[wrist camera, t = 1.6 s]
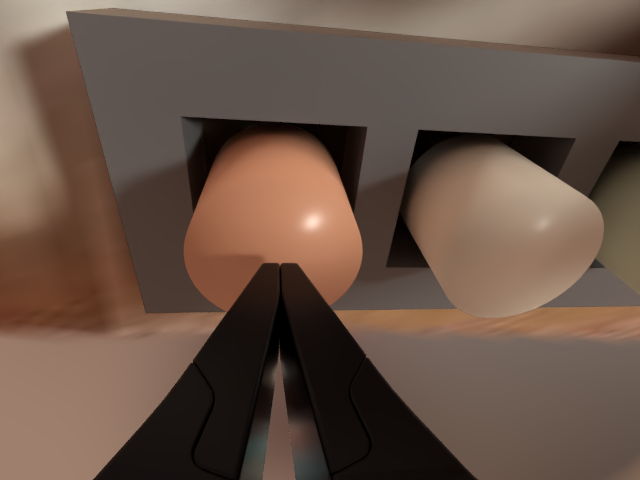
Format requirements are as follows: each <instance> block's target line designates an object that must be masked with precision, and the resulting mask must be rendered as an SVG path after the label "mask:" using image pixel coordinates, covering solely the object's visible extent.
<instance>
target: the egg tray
mask: <svg viewBox="0 0 640 480" xmlns="http://www.w3.org/2000/svg"><path fill="white" fill-rule="evenodd" d="M66 14H67V18H68V21H69V25H70V29H71V33H72V37H73V40H74V44H75V48H76V52H77V55H78V59H79V63H80V67H81V70H82V74H83V78H84V82H85V85H86V89H87V93H88V97H89V101H90V104H91V108H92V112H93V116H94V119H95V123H96V127H97V131H98V134H99V138H100V142H101V146H102V149H103V153H104V157H105V161H106V165H107V168H108V172H109V176H110V180H111V183H112V187H113V191H114V195H115V198H116V202H117V206H118V210H119V213H120V217H121V221H122V225H123V229H124V232H125V236H126V240H127V244H128V247H129V251H130V255H131V259H132V262H133V266H134V270H135V274H136V277H137V281H138V285H139V289H140V293H141V296H142V300H143V304H144V308H145V311H146V313H179V312H226V311H224V310H222V309H221V308H219V307H217V306H216V305H214V304H213V303H212V302H210V301H209V300H208V299H207V298H206V297H204V296H203V295H202V294H201V293H200V291H199V290H198V289H197V288H196V287H195V285H194V283H193V282H192V280H191V279H190V276H189V274H188V272H187V269H186V265H185V261H184V241H185V237H186V233H187V230H188V227H189V225H190V222H191V219H192V217H193V214H194V212H195V209H196V206H197V204H198V201H199V198H200V196H201V193H202V191H203V188H204V185H205V183H206V180H207V177H208V174H207V164H206V154H205V144H204V134H203V124H202V118H218V119H236V120H254V121H272V122H290V123H309V124H327V125H345V126H347V134H346V142H345V150H344V158H343V166H342V174H341V181H342V184H343V187H344V189H345V192H346V195H347V198H348V201H349V204H350V206H351V209H352V212H353V215H354V218H355V220H356V223H357V226H358V229H359V232H360V235H361V240H362V249H363V254H362V262H361V265H360V269H359V272H358V274H357V276H356V278H355V280H354V282H353V283H352V285H351V286H350V288H349V289H348V290H347V291H346V292H345V293H344V294H343V295H342V296H341V297H340V298H339V299H338V300H337V301H335V302H334V303H333V304H332V305H330V307H331V309H332V310H394V309H457V308H456V307H455V306H454V305H453V304H452V303H451V302H450V301H449V299H448V298H447V296H446V294H445V293H444V291H443V289H442V287H441V286H440V284H439V282H438V280H437V279H436V277H435V275H434V273H433V272H432V270H431V268H430V266H429V265H428V263H427V261H426V259H425V258H424V256H423V254H422V252H421V250H420V249H419V247H418V245H417V243H416V242H415V240H414V238H413V236H412V235H411V233H410V231H409V229H408V228H407V227H395V226H396V222H397V218H398V214H399V209H400V205H401V201H402V197H403V193H404V188H405V184H406V180H407V176H408V172H409V167H410V163H411V159H412V155H413V151H414V146H415V142H416V138H417V134H418V130H435V131H453V132H471V133H489V134H507V135H515V137H514V140H513V142H512V145H511V147H510V148H512V149H513V150H515V151H516V152H518V153H519V154H521V155H522V156H524V157H526V158H527V159H529V160H530V161H532V162H533V163H535V164H536V165H538V166H540V167H541V168H543V169H544V170H546V171H547V172H549V173H550V174H552V175H554V176H555V177H557V178H558V179H560V180H561V181H563V182H564V183H566V184H567V185H569V186H571V187H572V188H574V189H575V190H577V191H578V192H580V193H581V194H583V195H585V196H586V197H587V198H588V196H589V194H590V192H591V191H592V189H593V187H594V185H595V183H596V182H597V180H598V178H599V176H600V175H601V173H602V171H603V169H604V167H605V166H606V164H607V162H608V160H609V159H610V157H611V155H612V153H613V151H614V150H615V148H616V146H617V144H618V143H619V141H634V142H640V56H631V55H620V54H609V53H599V52H588V51H577V50H566V49H555V48H544V47H533V46H522V45H511V44H500V43H489V42H478V41H467V40H456V39H445V38H434V37H423V36H412V35H401V34H391V33H380V32H369V31H358V30H347V29H336V28H325V27H314V26H303V25H292V24H281V23H270V22H259V21H248V20H237V19H226V18H215V17H204V16H194V15H183V14H172V13H161V12H150V11H139V10H128V9H117V8H109V9H95V10H80V11H66ZM609 306H640V295H638V294H637V293H636V292H635V291H634V290H632V289H631V288H630V287H629V286H627V285H626V284H625V283H624V282H623V281H621V280H620V279H619V278H618V277H617V276H615V275H614V274H613V273H612V272H610V271H609V270H608V269H607V268H606V267H604V266H603V265H602V264H601V263H599V262H598V261H597V260H596V259H594V261H593V262H592V264H591V265H590V267H589V268H588V269H587V271H586V272H585V273H584V274H583V275H582V276H581V277H580V278H579V279H578V280H577V281H576V282H575V283H574V284H573V285H572V286H571V287H570V288H568V289H567V290H566V291H565V292H563V293H562V294H560V295H559V296H557V297H556V298H554V299H553V300H551V301H549V302H548V303H546V304H544V305H542V306H540V307H609ZM537 308H538V307H537Z"/></svg>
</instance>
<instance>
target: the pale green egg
mask: <svg viewBox="0 0 640 480" xmlns="http://www.w3.org/2000/svg"><path fill="white" fill-rule="evenodd" d="M588 198H589V199H590V200H592V201H593V202H594V203H595V205H596V206H597V207H598V208H599V210H600V212H601V214H602V218H603V221H604V234H603V240H602V243H601V247H600V249H599V251H598V254H597V255H596V257H595V259H596V260H597V261H598V262H599V263H601V264H602V265H603V266H604V267H606V268H607V269H608V270H609V271H610V272H612V273H613V274H614V275H615V276H617V277H618V278H619V279H620V280H621V281H623V282H624V283H625V284H626V285H627V286H629V287H630V288H631V289H632V290H634V291H635V292H636V293H637V294H638V295H640V144H634V145H630V146H626V147H624V148H621V149H618V150H616V151H614V152H613V153H612V155H611V157H610V159H609V160H608V162H607V164H606V166H605V167H604V169H603V171H602V173H601V175H600V176H599V178H598V180H597V182H596V183H595V185H594V187H593V189H592V191H591V192H590V194H589V196H588Z"/></svg>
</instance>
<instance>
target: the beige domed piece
mask: <svg viewBox="0 0 640 480" xmlns="http://www.w3.org/2000/svg"><path fill="white" fill-rule="evenodd" d="M400 213H401V216H402V218H403V220H404V222H405V224H406V226H407V228H408V229H409V231H410V233H411V235H412V236H413V238H414V240H415V242H416V243H417V245H418V247H419V249H420V250H421V252H422V254H423V256H424V258H425V259H426V261H427V263H428V265H429V266H430V268H431V270H432V272H433V273H434V275H435V277H436V279H437V280H438V282H439V284H440V286H441V287H442V289H443V291H444V293H445V294H446V296H447V298H448V299H449V301H450V302H451V303H452V304H453V305H454V306H455V307H456V308H457V309H459V310H461V311H462V312H464V313H467V314H469V315H472V316H476V317H483V318H502V317H508V316H513V315H517V314H521V313H524V312H527V311H530V310H533V309H535V308H537V307H540V306H542V305H544V304H546V303H548V302H549V301H551V300H553V299H554V298H556V297H557V296H559V295H560V294H562V293H563V292H565V291H566V290H567V289H568V288H570V287H571V286H572V285H573V284H574V283H575V282H576V281H577V280H578V279H579V278H580V277H581V276H582V275H583V274H584V273H585V272H586V271H587V269H588V268H589V267H590V265H591V264H592V262H593V261H594V259H595V257H596V255H597V254H598V251H599V249H600V247H601V243H602V240H603V234H604V221H603V218H602V214H601V212H600V210H599V208H598V207H597V206H596V205H595V203H594V202H593V201H592V200H590V199H589V198H587V197H586V196H585V195H583V194H581V193H580V192H578V191H577V190H575V189H574V188H572V187H571V186H569V185H567V184H566V183H564V182H563V181H561V180H560V179H558V178H557V177H555V176H554V175H552V174H550V173H549V172H547V171H546V170H544V169H543V168H541V167H540V166H538V165H536V164H535V163H533V162H532V161H530V160H529V159H527V158H526V157H524V156H522V155H521V154H519V153H518V152H516V151H515V150H513V149H512V148H510V147H508V146H507V145H505V144H504V143H502V142H501V141H499V140H497V139H495V138H493V137H491V136H487V135H483V134H464V135H458V136H455V137H451V138H449V139H446V140H444V141H442V142H440V143H438V144H436V145H435V146H433V147H432V148H430V149H429V150H428V151H426V152H425V153H424V154H423V155H422V156H421V157H420V158H419V159H418V160H417V161H416V162H415V163H414V164H413V166H412V167H411V168H410V170H409V172H408V176H407V180H406V184H405V188H404V193H403V197H402V201H401V205H400Z"/></svg>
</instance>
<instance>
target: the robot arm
mask: <svg viewBox="0 0 640 480" xmlns="http://www.w3.org/2000/svg"><path fill="white" fill-rule="evenodd" d="M279 348H280V361H281V369H282V377H283V385H284V392H285V401H286V408H287V416H288V424H289V432H290V439H291V447H292V455H293V463H294V470H295V478H296V480H478V479H477V478H476V477H474V476H473V475H472V474H471V473H470V472H469V471H468V470H467V469H466V468H465V467H464V466H463V465H462V464H461V463H460V461H458V459H457V458H456V457H455V456H454V455H453V454H452V453H451V452H450V451H449V450H448V449H447V448H446V447H445V445H444V444H443V443H442V442H441V441H440V440H439V439H438V438H437V437H436V436H435V435H434V434H433V433H432V432H431V431H430V429H429V428H428V427H427V426H426V425H425V424H424V423H423V422H422V421H421V420H420V419H419V418H418V417H417V416H416V415H415V413H414V412H413V411H412V410H411V409H410V408H409V407H408V406H407V405H406V404H405V402H404V401H403V400H402V399H401V398H400V397H399V396H398V395H397V394H396V392H395V391H394V390H393V389H392V388H391V386H390V385H389V384H388V383H387V381H386V380H385V379H384V378H383V377H382V375H381V374H380V373H379V371H378V370H377V369H376V367H375V366H374V365H373V363H372V362H371V361H370V359H369V358H366V354H365V353H364V351H363V350H362V349H361V347H360V346H359V345H358V343H357V342H356V341H355V339H354V338H353V337H352V335H351V334H350V333H349V331H348V330H347V329H346V327H345V326H344V325H343V323H342V322H341V321H340V319H339V318H338V317H337V315H336V314H335V313H334V311H333V310H332V309H331V307H330V306H329V305H328V303H327V302H326V301H325V299H324V298H323V297H322V295H321V294H320V293H319V291H318V290H317V289H316V287H315V286H314V285H313V283H312V282H311V281H310V279H309V278H308V277H307V275H306V274H305V273H304V271H303V270H302V269H301V267H300V266H299V265H298V264H297V263H281V265H280V264H279V263H263V264H262V265H261V266H260V267H259V269H258V270H257V271H256V273H255V274H254V276H253V277H252V278H251V280H250V281H249V283H248V284H247V285H246V287H245V288H244V290H243V291H242V292H241V294H240V295H239V297H238V298H237V299H236V301H235V302H234V304H233V305H232V306H231V308H230V309H229V311H228V312H227V313H226V315H225V316H224V318H223V319H222V320H221V322H220V323H219V325H218V326H217V327H216V329H215V330H214V332H213V333H212V334H211V336H210V337H209V339H208V340H207V341H206V343H205V344H204V346H203V347H202V349H201V350H200V351H199V353H198V354H197V356H196V357H195V358H194V359H193V363H191V364H190V365H189V366H188V368H187V369H186V370H185V372H184V373H183V375H182V376H181V377H180V379H179V380H178V381H177V383H176V384H175V385H174V387H173V388H172V389H171V391H170V392H169V393H168V395H167V396H166V397H165V398H164V400H163V401H162V402H161V403H160V405H159V406H158V407H157V408H156V409H155V410H154V412H153V413H152V414H151V415H150V416H149V417H148V418H147V420H146V421H145V422H144V423H143V424H142V426H141V427H140V428H139V429H138V430H137V431H136V432H135V433H134V435H133V436H132V437H131V438H130V439H129V440H128V441H127V442H126V443H125V445H124V446H123V447H122V448H121V449H120V450H119V451H118V452H117V454H116V455H115V456H114V457H113V458H112V459H111V460H110V461H109V462H108V464H107V465H106V466H105V467H104V468H103V469H102V470H101V471H100V472H99V474H98V475H97V476H96V477H95V478H94V479H93V480H262V479H263V471H264V464H265V455H266V448H267V441H268V433H269V426H270V418H271V410H272V403H273V395H274V387H275V379H276V372H277V365H278V356H279Z"/></svg>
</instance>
